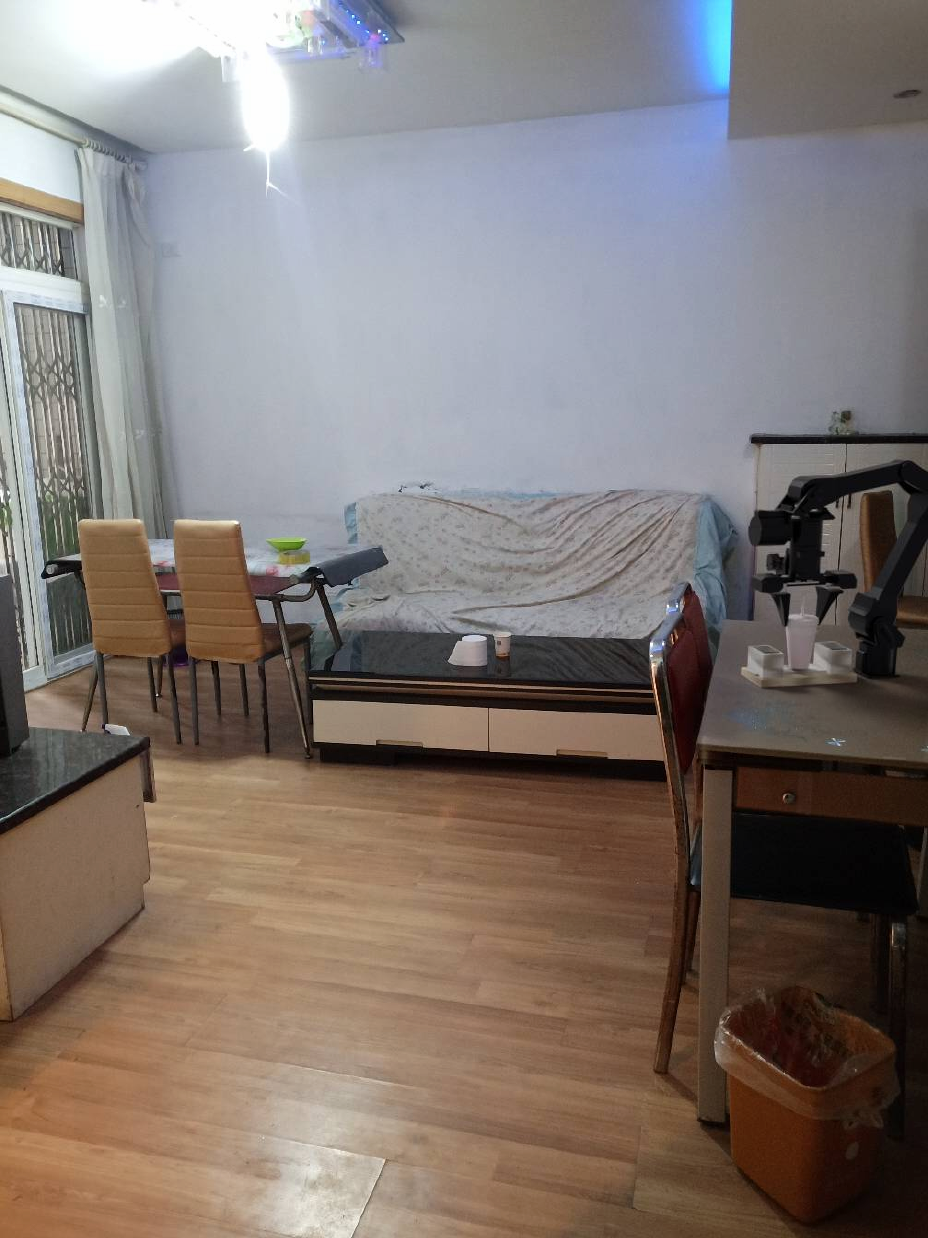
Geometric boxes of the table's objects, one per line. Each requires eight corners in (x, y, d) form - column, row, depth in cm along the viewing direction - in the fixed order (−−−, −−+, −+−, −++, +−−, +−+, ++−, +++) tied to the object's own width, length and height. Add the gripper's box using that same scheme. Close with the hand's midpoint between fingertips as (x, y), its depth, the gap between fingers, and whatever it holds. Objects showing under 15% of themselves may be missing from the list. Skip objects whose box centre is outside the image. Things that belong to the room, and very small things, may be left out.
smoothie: (820, 664, 188) (824, 593, 185) (812, 672, 183) (816, 599, 179) (786, 660, 191) (789, 590, 188) (777, 668, 186) (781, 596, 183)
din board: (833, 669, 193) (835, 639, 191) (856, 682, 184) (858, 650, 183) (741, 674, 191) (742, 644, 189) (760, 687, 182) (762, 655, 180)
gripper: (831, 536, 191) (827, 614, 194) (740, 540, 188) (737, 619, 192) (861, 544, 180) (855, 626, 183) (765, 548, 178) (761, 631, 181)
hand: (801, 625), depth 185 cm, fingers closed on smoothie, 6 cm apart
